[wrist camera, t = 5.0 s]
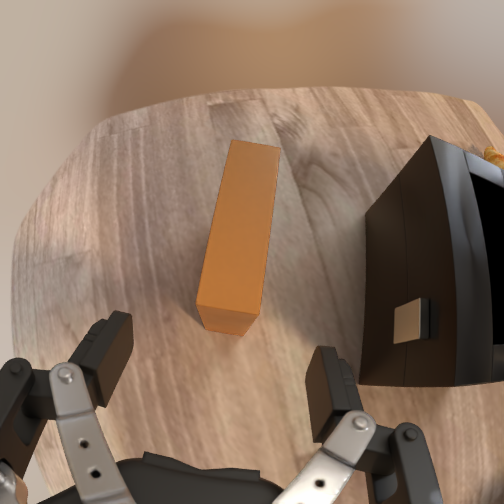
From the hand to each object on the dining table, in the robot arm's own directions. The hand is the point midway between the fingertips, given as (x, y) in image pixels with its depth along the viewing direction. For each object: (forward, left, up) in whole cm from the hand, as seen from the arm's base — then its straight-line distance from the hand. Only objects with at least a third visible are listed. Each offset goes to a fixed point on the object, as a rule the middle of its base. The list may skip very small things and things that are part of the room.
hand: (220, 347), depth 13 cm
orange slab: (-5, -5, -11) cm, 13 cm away
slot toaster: (-17, +7, -11) cm, 21 cm away
